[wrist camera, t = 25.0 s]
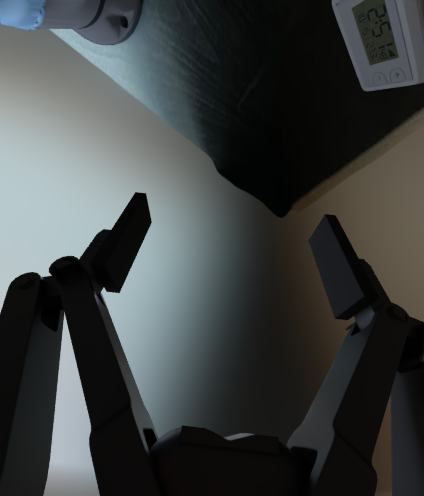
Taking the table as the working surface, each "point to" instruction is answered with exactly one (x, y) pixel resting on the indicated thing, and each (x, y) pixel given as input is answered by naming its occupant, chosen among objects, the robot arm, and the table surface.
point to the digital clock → (383, 40)
